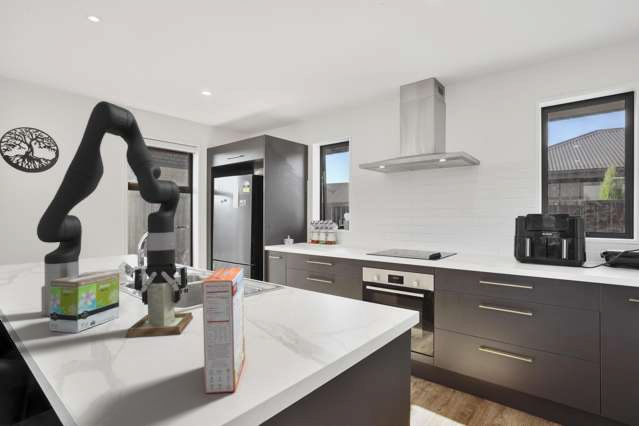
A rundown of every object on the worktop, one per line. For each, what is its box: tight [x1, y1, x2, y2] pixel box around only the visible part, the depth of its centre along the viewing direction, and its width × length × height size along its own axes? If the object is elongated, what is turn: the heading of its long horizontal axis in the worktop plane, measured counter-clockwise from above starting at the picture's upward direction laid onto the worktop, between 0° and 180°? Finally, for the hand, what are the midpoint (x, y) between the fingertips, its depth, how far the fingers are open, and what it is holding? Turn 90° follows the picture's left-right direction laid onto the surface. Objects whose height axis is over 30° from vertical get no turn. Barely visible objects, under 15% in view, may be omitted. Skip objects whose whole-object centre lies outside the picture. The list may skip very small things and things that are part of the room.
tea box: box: [49, 271, 120, 334], centre depth 101 cm, size 15×10×15 cm
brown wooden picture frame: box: [125, 311, 194, 338], centre depth 97 cm, size 14×14×2 cm
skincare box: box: [147, 282, 176, 326], centre depth 97 cm, size 6×4×12 cm
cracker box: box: [201, 267, 246, 394], centre depth 68 cm, size 14×6×21 cm, turn 5°
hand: (161, 303), depth 97 cm, fingers open, 8 cm apart
